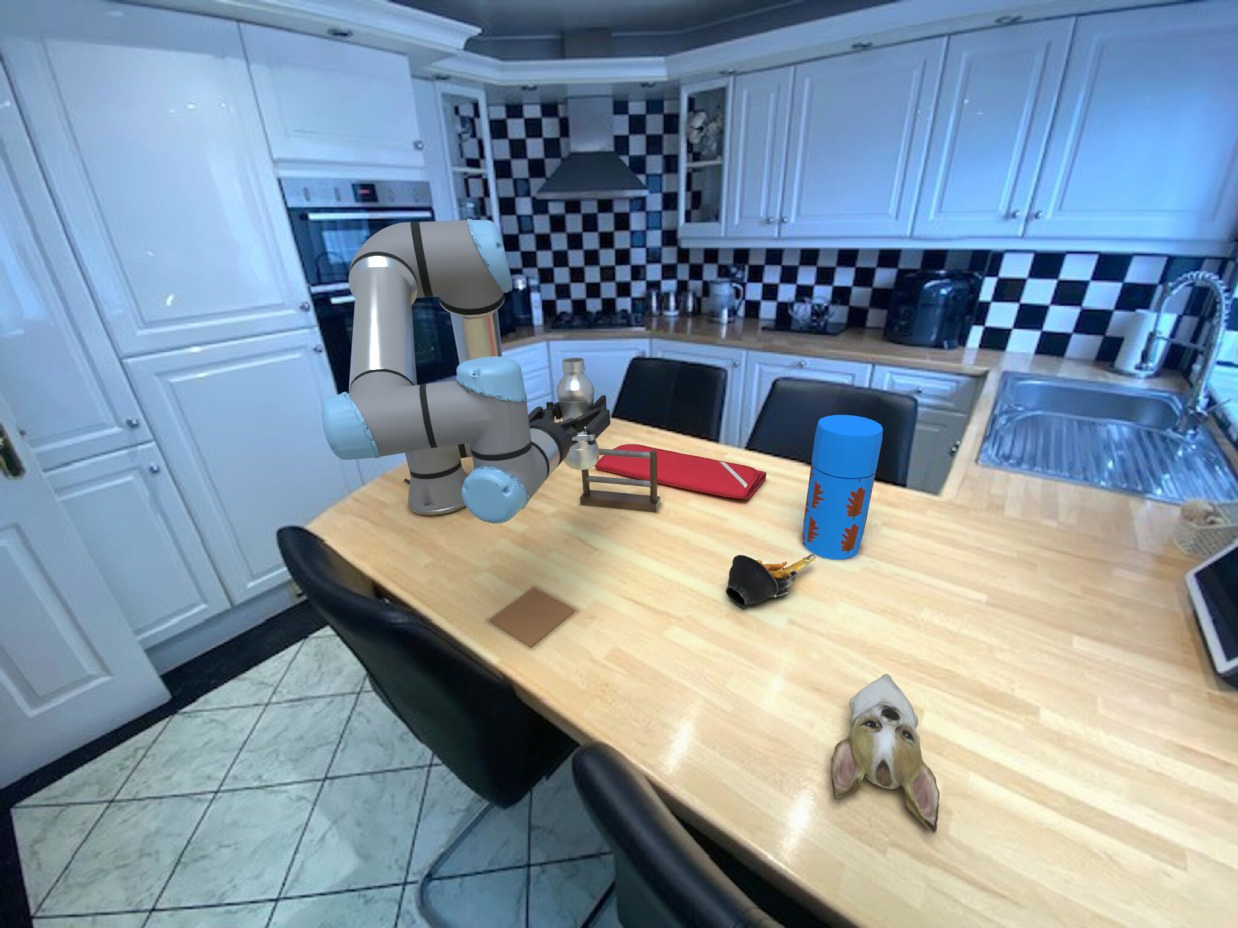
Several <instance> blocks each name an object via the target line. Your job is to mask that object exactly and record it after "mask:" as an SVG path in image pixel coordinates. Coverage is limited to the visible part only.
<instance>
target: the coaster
mask: <svg viewBox="0 0 1238 928" xmlns="http://www.w3.org/2000/svg"><path fill="white" fill-rule="evenodd" d="M575 612H576V609H574V608H572V607H570V606H569V605H567V604H565V603H563V602H561V601H559V600H557V599H556V598H554V597H552V596H550V595H549V594H547V593H544V592H543V591H541V590H539V589H537V588H535V587H532V588H530V590H528V591H527V592H525V593H524V594H522V595H521V596H519V598H517V599H516V600H514V601H513V602H512V603H510V604H509V605H507V606H506V607H505V608H503V609H501V610H500V611H499V612H498V613H497V614H495V615H494V616H492V617H490V618H489V622H490V623H491V624H493V625H494V626H496V627H498V628H499V629H501V630H502V631H504V632H506V634H508V635H510V636H512V637H514V638H515V639H516V640H518V641H520V642H521V643H523V644H524V645H526V646H528V647H529V648H533V647H534V646H535V645H537V644H538V643H539V642H540V641H541V640H543V639H544V638H545V637H546V636H547V635H549V634H550V633H551V632H552V631H553V630H554V629H556V628H557V627H558V626H559V625H560V624H561V623H563V622H564V621H566V619H568V618H569V617H570V616H571V615H572V614H574V613H575Z"/></svg>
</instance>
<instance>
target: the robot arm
mask: <svg viewBox="0 0 1238 928" xmlns="http://www.w3.org/2000/svg"><path fill="white" fill-rule="evenodd" d="M348 287H349V290H350V293H351V294H352V296H353V298H354V309H353V310H354V311H353V325H352V339H351V340H352V341H351V353H350V369H349V383H348V384H349V385H348V392H347V391H342V392H341V393H340V394H334V395H329V396H328V397H327V398H326V399H325V400H323V403H322V405H321V421H322V427H323V432H324V436H325V438H326V441H327V444H328V446H329V448H330V450H331V451H332V453H333V454H334V455H335V456H336V457H337V458H339V459H341V460H345V461H351V460H352V461H353V460H364V459H380V458H381V457H389V456H393V455H394V456H395V455H401V454H404V456H405V458H406V464H407V467H408V470H409V475H410V479H408V478H404V479H403V481H404V482H406V483H408V484H409V488H408V496H407V501H408V505H409V509H410V511H411V512H412V513H414V514H416V515H420V516H423V517H425V516H426V517H437V516H443V515H448V514H452V513H455V512H457V511H460V510H462V509H464V508H466V509H468V511H469V512H470V513H471V514H472V515H473V516H474V517H475V518H477V519H478V520H480V521H483V522H485V523H488V524H495V525H497V524H503V523H506V522H508V521H510V520H511V519H513V518H514V517H515V516H516V515H517V514H518V513H519V512H521V511H522V510H524V509H525V508H526V506H527V505H528V503H529V501H530V500H531V499H532V498H533V496H534V495H535V494H536V493H537V492H538V490H540V489H541V487H542V486H543V485H544V484H545V482H546V481H547V480H548V478H549V477H551V475H552V474H553V473H554V472H555V470H556V469H557V468H558V467H559V466H560V465H561V464H562V462H564V461H565V460H564V459H565V458H566V456H567V454H568V452H569V450H570V447H571V446H573V445H576V444H577V443H578V441H585V442H587V443H588V445H594V444H595V441H596V442H597V439H598V438H599V437H600V436H601V434H602V433H604V431H606V429H608V427H610V426H611V410H610V409H608V407H607V394H601V396H600V397H599V398H598V399H597V400H596V401H594V404H593V405H592V406H591V411H589V412H587V413H585V414H583V415H581V416H579V417H577V418H575V419H574V418H569V419H567V420H565V421H563V420H562V413H561V409H560V405H559V401H558V400H557V402H554V401H546V402H545V407H546V408H543V406H540V405H539V406H536V407H535V408H533V410H532V411H531V412H529V410H528V395H527V393H526V389H525V383H524V377H523V372H522V367H521V365H520V364H519V363H518V362H517V361H516V360H515V359H512V358H510V357H506V356H503V349H502V340H501V330H500V320H499V311H498V310H499V309H500V308H501V307H502V306H503V304H504V303H505V298H506V297H505V293H508V292H511V291H512V290H513V288H514V287H513V279H512V276H511V271H510V267H509V262H508V258H507V254H506V249H505V246H504V242H503V238H502V235H501V232H500V228H499V227H498V225H497V224H496V223H495V222H493V220H489V219H472V218H467V219H462V220H461V219H460V220H459V219H458V220H437V221H435V220H434V221H417V222H416V221H415V222H414V221H413V222H411V221H409V222H408V221H406V222H399V223H394V224H391V225H389V226H386V227H385V228H382V229H380V230H379V231H378V232H376V233H374V234H373V235H372V236H371V237H369V238H368V239H367V240H366V241H365V242H364V243H363V244H362V245H361V246H360V248H358V250H357V252H356V253H355V255H354V256H353V259H352V261H351V263H350V267H349V272H348ZM419 298H420V299H421V298H438V302H439V304H440V306H441V307H442V308H443V309H444V311H446V312H448V313H449V314H450V319H451V325H452V329H453V335H454V340H455V341H454V342H455V346H456V351H457V357H458V362H459V364H458V366H457V367H456V377H455V379H456V380H448V381H440V382H439V381H438V382H431V383H423V384H418V382H417V381H418V380H417V369H416V368H417V367H416V353H415V352H416V351H415V337H414V336H415V335H414V323H413V308H412V306H413V304H414V303H415V301H416V299H419ZM556 420H559V421H558V422H556ZM560 420H562V421H560ZM467 458H472V464H473V469H472V470H470V472H468V474H467V472H466V470H465V468H463V467H464V466H463V463H462V459H467Z"/></svg>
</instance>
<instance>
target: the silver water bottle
mask: <svg viewBox="0 0 1238 928" xmlns="http://www.w3.org/2000/svg"><path fill="white" fill-rule="evenodd" d="M561 364H562V369H561V370H562V373H563V376H562V377H561V379H560V380H559V382H558V384H557V386H556V396H557V402H558V401H559V405H560V409H561V413H562V418H561V420H562V422H563V421H565V420H567V419H569V418H574V419H575V418H577V417H579V416H581V415H583V414H585V413H587V412H589V411H591V406H592V405H593V404H594V403H595V387H594V385H593V383H592V381H591V380H590V378H588V377H589V376H587V375H586V374H585V371H586V367H585V359H584V358H582V357H567V358H564V359H562V363H561ZM599 449H600V448H599V444H598V442H597V440H596V441H595V444H594V445H588V443H587V442H585V441H578V443H577V444H576V445H573V446H571V447H570V450H569V452H568V454H567V456H566V458H565V459H564V460H563V461H564V463H565V465H566V466H567V467H568V468H570V469H572V470H577V471H581V470H585V469H588V470H589V469H592V468H595V465H596V464H597V462H598V461H599V459H600V455H599Z"/></svg>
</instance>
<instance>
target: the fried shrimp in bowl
mask: <svg viewBox="0 0 1238 928" xmlns="http://www.w3.org/2000/svg"><path fill="white" fill-rule="evenodd" d="M816 556H817V555H816V554H814V553H811V554H809V555H807V556H806V557H803V558H802V559H801V560H799V561H797V562H795V563H793V564H791V565H789V566H787V564H788V561H783V562H782V563H763V560H762V559H754V558H753V557H750V556H747V555H745V554H738V555H735V556H734V557H733V558H732V565H731V566H730V569H729V570H728V580H727V587H726V588H725V594H726V596H727V597H728V599H730V600H731V601H732V602H733V603H734V604H736V605H737V606H738V607H740V608H745V607H746V606H747V605H756V604H760V603H762V602H763V601H765V600H767V599H768V598H770V599H774V598H777V597H781V596H784V595H786V594H788V593H789V592H790V590H789V588H790V587H792V585H793V584H794V583H795V581H796V578H797V577H798V574H799V573H798V572H799V571H800V570H801V569H802V568H803V567H804V566H807V565H809V564H810V563H812V562H814V561H816V558H817V557H816Z"/></svg>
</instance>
